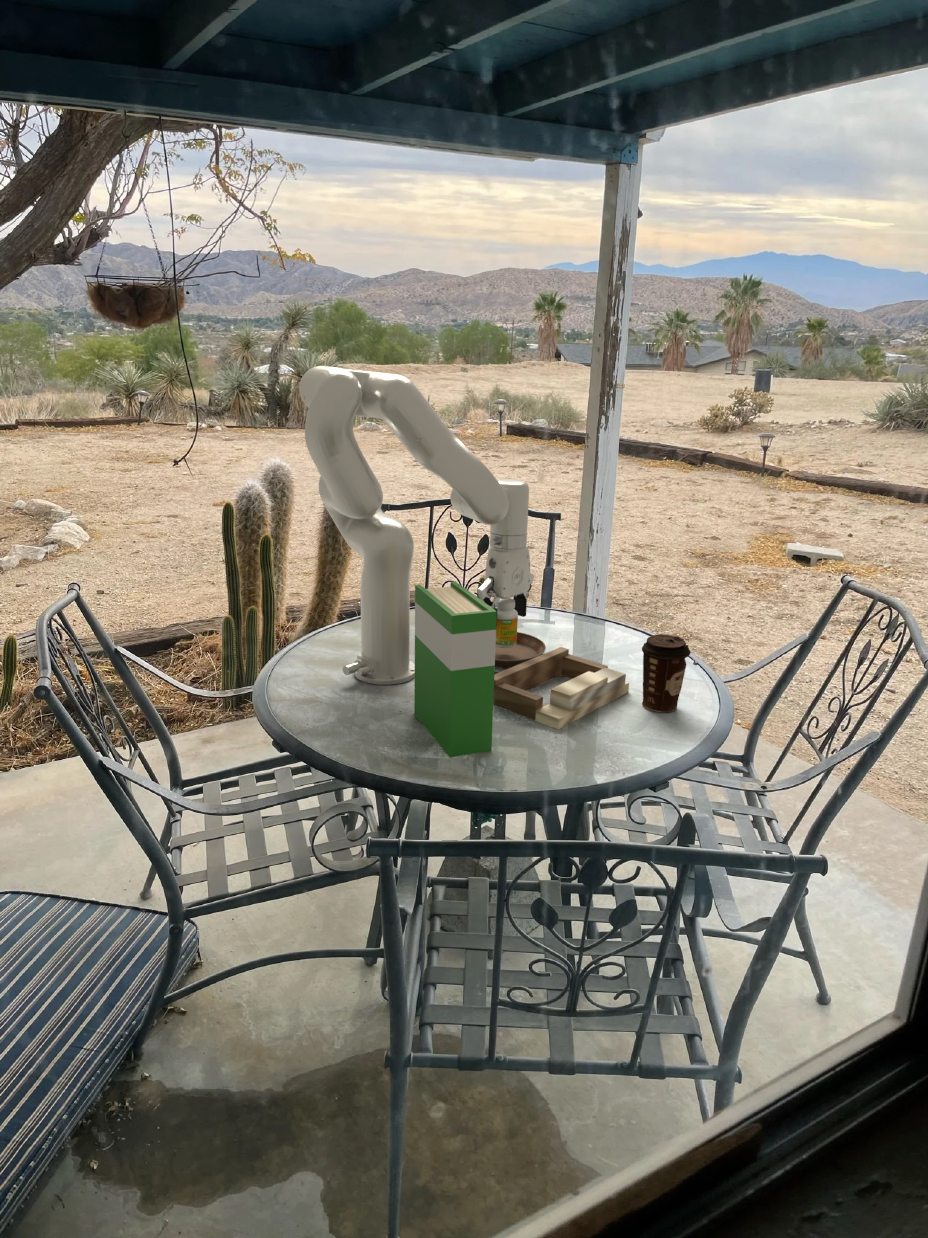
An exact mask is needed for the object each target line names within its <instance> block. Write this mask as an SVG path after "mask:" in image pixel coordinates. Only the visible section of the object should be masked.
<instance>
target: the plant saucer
mask: <svg viewBox="0 0 928 1238" xmlns="http://www.w3.org/2000/svg"><path fill="white" fill-rule="evenodd" d="M546 647H547V645H546V644H545V643H544V641H543V640H541V639H540V638H538V637H536V636H534V635H531V634H528V633H525V632H519V631H517V644H516V645H515V646H514V647H510V648H500V647H496V646H495V668H499V669H500V668H501V669H509V668H511V667H514V666H516V665H518V664H521V663H523V662H526V661H528V660H530V659H533V658H535V657H538V656H540V655H542V654H545V653H544V652H545V651H546Z"/></svg>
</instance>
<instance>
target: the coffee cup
mask: <svg viewBox="0 0 928 1238" xmlns="http://www.w3.org/2000/svg"><path fill="white" fill-rule="evenodd" d="M641 651H642V652H643V654H642V655H643V656H642V657H643V659H642V702H641V705H642V707H644V708H645V709H647V710H649V711H652V712H656V713H669V712H674V711H675V710H676V709H677V707H678V702H679V698H680V694H681V691H682V687H683V682H684V678H685V672H686V668H687V662H686V658H688V657H689V656H690V655H691V654H692V651H691V650H690V648H689V645H688V644H687V643H686V640H685V638H682V637H680V636H678V635H670V634H660V633H659V634H654V635H650V636H648V637H647V639H646V642H644V643H643V645H642V647H641Z"/></svg>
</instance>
